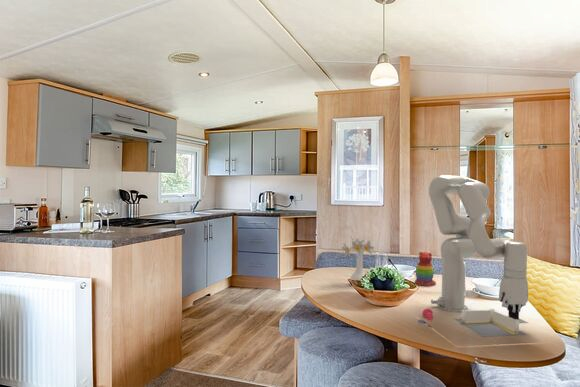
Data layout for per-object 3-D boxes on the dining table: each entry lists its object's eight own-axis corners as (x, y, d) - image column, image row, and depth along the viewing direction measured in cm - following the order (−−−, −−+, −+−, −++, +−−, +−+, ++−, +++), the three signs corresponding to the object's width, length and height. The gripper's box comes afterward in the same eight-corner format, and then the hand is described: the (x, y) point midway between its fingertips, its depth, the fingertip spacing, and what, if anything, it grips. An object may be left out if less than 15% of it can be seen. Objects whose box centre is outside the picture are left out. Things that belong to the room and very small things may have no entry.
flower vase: (337, 284, 205) (338, 238, 204) (362, 280, 216) (363, 236, 215) (354, 290, 194) (356, 242, 194) (379, 285, 205) (380, 239, 204)
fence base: (482, 338, 137) (483, 323, 137) (454, 320, 155) (454, 306, 155) (551, 335, 142) (551, 320, 141) (515, 318, 159) (516, 304, 159)
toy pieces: (410, 318, 157) (410, 308, 157) (433, 316, 160) (433, 306, 160) (428, 329, 145) (428, 318, 145) (452, 327, 148) (453, 316, 148)
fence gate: (492, 321, 152) (492, 310, 152) (495, 321, 152) (495, 309, 152) (516, 333, 141) (517, 320, 141) (519, 332, 141) (520, 320, 141)
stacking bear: (436, 283, 212) (437, 252, 212) (432, 287, 204) (433, 254, 203) (416, 280, 218) (417, 249, 217) (412, 284, 210) (413, 252, 209)
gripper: (521, 270, 151) (519, 316, 152) (491, 272, 147) (490, 320, 147) (538, 275, 144) (537, 323, 144) (507, 277, 140) (506, 327, 140)
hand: (513, 321), depth 146 cm, fingers closed
